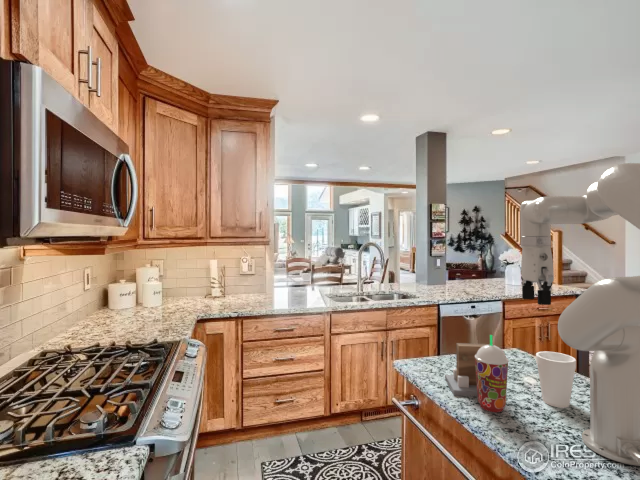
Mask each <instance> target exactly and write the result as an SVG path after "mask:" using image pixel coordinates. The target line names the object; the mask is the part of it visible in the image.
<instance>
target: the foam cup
mask: <svg viewBox="0 0 640 480" xmlns="http://www.w3.org/2000/svg"><path fill="white" fill-rule="evenodd" d="M535 363H536V366H537V370H538V371H537V372H538V378H539V379H538V380H539V385H540V391H541V398H542V402H543V403H545V404H547V405H549V406H552V407H555V408H561V409H563V408H564V409H565V408H569V407H570V403H571V397H572V393H573V392H572V391H573V385H574V377H575V372H576V369H577V360H576V358H575V357H573V356H571V355H569V354H565V353H561V352H557V351H556V352H555V351H548V350H547V351H546V350H544V351H543V350H542V351H538V352H536V353H535Z"/></svg>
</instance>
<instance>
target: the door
mask: <svg viewBox="0 0 640 480" xmlns="http://www.w3.org/2000/svg"><path fill="white" fill-rule="evenodd" d="M484 345H488V344H487V343H470V342H469V343H466V342H456V343H455V348H456V350H455V351H456V352H455V354H456V355H455V356H456V358H455V359H456V362H455V363H456V364H455V365H456V367H455V369H456V381H457V382H458V380H457V376H468V377H469V385H476V386H477V379H476V365H475V355H476V354H477V351H478V350H479V349H480V348H481V347H482V346H484Z"/></svg>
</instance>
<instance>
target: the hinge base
mask: <svg viewBox="0 0 640 480" xmlns="http://www.w3.org/2000/svg"><path fill="white" fill-rule="evenodd" d="M452 372H453V373H452V374H444V380H445V382H446V384H447V386H448V387H449V389H450V392H451V393H452V395H453V396H461V397H477V398H478V393H477V386H476V385H469V377H468V376H457V380H458V382H457V381H456V368H452Z"/></svg>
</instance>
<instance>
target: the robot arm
mask: <svg viewBox="0 0 640 480" xmlns="http://www.w3.org/2000/svg"><path fill="white" fill-rule="evenodd" d="M585 193H586V194H585V195H580V196H573V195H572V196H569V195H566V196H565V195H564V196H563V195H558V196H557V195H555V196H553V195H548V196H546V195H545V196H541V197H538V198H536V199H531V200H525V201H523V202H522V203H520V208H519V209H520V210H519V211H520V213H519V215H520V216H519V217H520V219H519V220H520V221H519V222H520V224H519V225H520V227H519V228H520V248H522V250H521V263H520V264H521V267H520V275H521V276H520V278H521V279H520V280H521V289H522V290H521V292H522V294H521V295H522V296H521V297H522V299H523V300H534V299H535V285H534V283H536V284H537V287H538V290H537V304H538V305H539V306H540V305H541V306H543V305H544V306H551V304H552V289H553V288H552V287H553V282H554V280H555V277H554V261H553V254H552V249H551V248H552V244H551V243H552V239H551V238H552V237H551V236H552V235H551V229H552V228H551V225H580V224H582V225H583V224H588V223H589V224H590V223H594V222H599V221H604V220H608V219H609V218H611V217H613V216H619V217H621V218H622V219H624V220H625V221H627V222H628V223H629V224H631V225H633V226H634V227H635V228H637V229H638V230H640V162H637V163H636V162H629V163H620V164H617V165H613V166H612V167H610V168H608V169H607V170H606V171H604V172H603V174H601V176H600V177H599V179H598V180H596V181H595V182H593V183H592V184H590V185H589V187H587V190H586V192H585ZM557 321H558V322H557V331H558V332H557V333H558V335H559V337H560V339H561V340H562V342H564V344H566V345H567V346H569V347H570V348H571V349H574V350H577V351H582V352H593V354H592V356H591V360H590V363H589V364H590V365H589V367H590V368H589V409H590V410H589V412H590V413H589V416H590V417H589V418H590V421H589V423H590V424H589V425H590V426H589V428H587V429H585V430H583V432H582V433H581V440H582V443H584V445H585V446H586V447H588V449H590V450H592V451H593V452H594V453H596V454H598V455H600V456H602V457H605V458H607V459H609V460H612V461H614V462H618V463H621V464H625V465H630V466H637V467H640V275H635V276H634V275H633V276H614V277H612V276H611V277H608V278H607V277H606V278H603V279H601V280H599V281H596V282H594V283H592V285H590V286H589V287H588V288H587V289H585V290H584V291H583V292H582V293H581V294H580V295H579V296H578V297H577V298H576V299H574V300H573V301H572V302H571V303H570V304H569V305H568V306H566V308H564V309H563V311H562V313H561V314H560V316H559V317H558V320H557Z"/></svg>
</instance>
